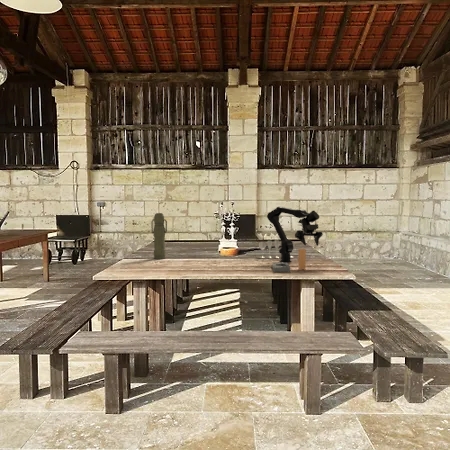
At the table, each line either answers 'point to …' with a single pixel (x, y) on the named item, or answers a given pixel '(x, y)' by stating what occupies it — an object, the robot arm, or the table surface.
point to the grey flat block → (280, 267)
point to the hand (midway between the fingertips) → (311, 245)
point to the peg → (301, 259)
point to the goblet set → (269, 243)
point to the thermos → (159, 236)
